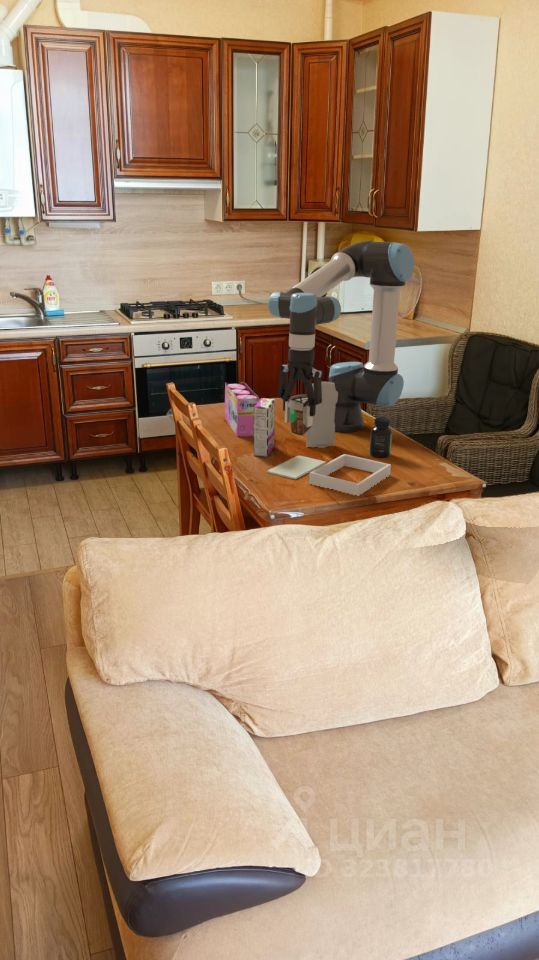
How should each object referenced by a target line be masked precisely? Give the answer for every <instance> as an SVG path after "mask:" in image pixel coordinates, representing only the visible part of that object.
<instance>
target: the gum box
mask: <svg viewBox="0 0 539 960" xmlns="http://www.w3.org/2000/svg"><path fill="white" fill-rule="evenodd" d="M224 384H225V386H224V387H225V388H224V419H225V421H226V422H227V423H228V425H229V427H230V428H231V430H232V431H233V433H234V434H235V435H236V437H238V436H240V437H254V407H255V405H256V404H257V403H258V402H259V400H260V398H259V396H258V395H257V394H256V393H255V392H254V391H253V390H252V388H250V386H248V384H247V383H246V382H244V381H241V382H240V383H228V382H224Z"/></svg>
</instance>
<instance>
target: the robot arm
mask: <svg viewBox="0 0 539 960" xmlns="http://www.w3.org/2000/svg"><path fill="white" fill-rule="evenodd" d="M414 270H415V258H414V254H413V251H412V250H411V248H410V247H409V246H408V245H407V244H405V243H401V242H400V243H399V242H393V241H374V240H373V241H372V240H363V241H358V242H355V243H353V244H350V245H348V246H346V247H344V248H342V249H341V250H339V251H337V252H336V253H334V254H332V256H331V259H330V261H328V262H327V263H326V264H324V265H323V266H321V267H319V268H318V269H317V270H316V271H314V272H313V273H311V274H310V275H308V276H307V277H306V278H304V279H303V280H301V281H300V282H298V283H297V284H296V285H294V286H292V287H291V288H289V290H287V291H286V292H283V291H275V292H273V293H271V294H270V296H269V298H268V302H267V306H268V312H269V314H270V315H271V316H273V317H276V318H281V319H289V334H288V335H289V336H288V347H289V349H288V363H287V364H282V365H279V367H278V368H279V380H278V381H279V382H278V390H277V398H279V399H281V400H282V401H283V402H282V404H283V405H282V410H283V411H284V424H285V423H287V424H288V423H291V417H290V407H288V403H289V400H290V398H291V397H292V394H293V391H294V388H295V385H296V384H297V381H298V380H300V381H301V382H302V384H303V386H304V390H305V394H307V398H308V402H309V405H307V409H306V427H310V426H312V425H313V416H315V411H316V405H318V404H320V403H322V386H321V382H322V378H323V377H322V376H323V370H321V369H320V370H318V369H316V368H315V366H314V361H315V349H314V348H315V341H316V326H317V325H318V326H319V325H323V324H330V323H332V322H334V321H337V319H339V318H340V315H341V312H342V306H341V302H340V301H339V300H338V299H337V298H336V297H334V296H325V295H326V294H327V293H328V292H330V291H331V290H332V289H334V288H336V287H337V286H338V285H339V284H341V283H342V282H343V281H344V282H346V281H350V280H351V279H352V278H369V286H370V287H372V289H373V298H372V311H371V312H372V313H371V324H370V325H371V326H370V336H369V337H370V341H369V353H368V354H369V355H368V361H367V362H366V363H363V362H362V361H361V362H360V361H345V362H337V363H334V364H332V365H331V366H330V368H329V375H328V382H330V383H335V389H336V391H337V392H338V400H337V403H336V404H335V406H336V407H335V413H334V415H335V418H334V423H335V432H341V433H353V432H357V431H358V432H359V431H361V430H363V429H364V427H365V420H364V415H363V412H362V407H361V403H364V404H369V405H373V406H377V407H385V408H390V407H393V406H394V405H395V404H396V403H397V402H398V401H399V398H400V397H401V395H402V392H403V389H404V382H405V381H404V377H403V375H401V374H399V373H398V370H399V366H398V365H397V364H396V363H395V356H396V345H397V344H396V343H397V331H398V320H399V309H400V308H399V307H400V299H401V298H400V295H401V291H402V290H403V289H404V288H405V287H406V282H408V281H410V280H411V279H412V277H413V274H414ZM288 373H290V375H289V374H288ZM288 375H289V377H288ZM312 377H313V379H312ZM312 382H313V383H312ZM312 384H314V390H313V386H312Z"/></svg>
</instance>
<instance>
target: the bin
mask: <svg viewBox="0 0 539 960" xmlns="http://www.w3.org/2000/svg"><path fill="white" fill-rule="evenodd" d="M343 467H349V468H353V469H356V470H361V471H365V472H369V473H371V474H370V475H368V476H366V478H364V479H362V480H360V481H359V482H354V481H350V480H346V479H341V478H338V477H333V476H330V475H331V474H333V473H334V472H336V471H338V470H339V469H341V468H343ZM391 469H392V464H390V463H386V462H381V461H377V460H374V459H373V460H372V459H369V458H363V457H360V456H355V455H351V454H346V453H343V454H342V455H339V456H338V457H336V458H334V459H332V460H330V461H328V462H327V463H325V464H324V465H322V466H320V467H318V468H316V469H314V470H312V471H311V472H309V473H308V474H309V476H308V477H309V478H308V484H309V485H311V484H312V485H311V486H315V485H316V487H319V486H320V487H319V488H323V487H324V489H327V488H329V489H328V490H331V489H334V490H333V491H335V490H338V491H337V492H339V491H342V492H341V493H343V492H346V493H345V494H347V493H349V494H348V495H351V494H353V495H352V496H355V495H357V496H356V497H359V496H361V495H363V494H364V493H365V492H367V491H368V490H370V489H372V488H373V487H375V486H376V485H377V483H378V484H380V483H381V482H382V481H384V480H385V479H387V478H388V477H390V476H391V471H392V470H391ZM332 472H333V473H332ZM330 473H331V474H330ZM389 475H390V476H389ZM386 477H387V478H386ZM383 479H384V480H383ZM381 480H382V481H381ZM380 481H381V482H380ZM374 485H375V486H374ZM371 487H372V488H371ZM360 494H361V495H360Z"/></svg>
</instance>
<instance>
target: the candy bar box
mask: <svg viewBox="0 0 539 960" xmlns="http://www.w3.org/2000/svg"><path fill="white" fill-rule="evenodd" d="M275 413H276V399H275V398H266V397H261V398H259V402H258V403H257V404H256V405H255V407H254V436H253V456H255V457H266V458H267V457H269V455H270V454H271V452H272V450H273V449H274V447H275V421H276V420H275V417H276V416H275V415H276V414H275Z"/></svg>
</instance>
